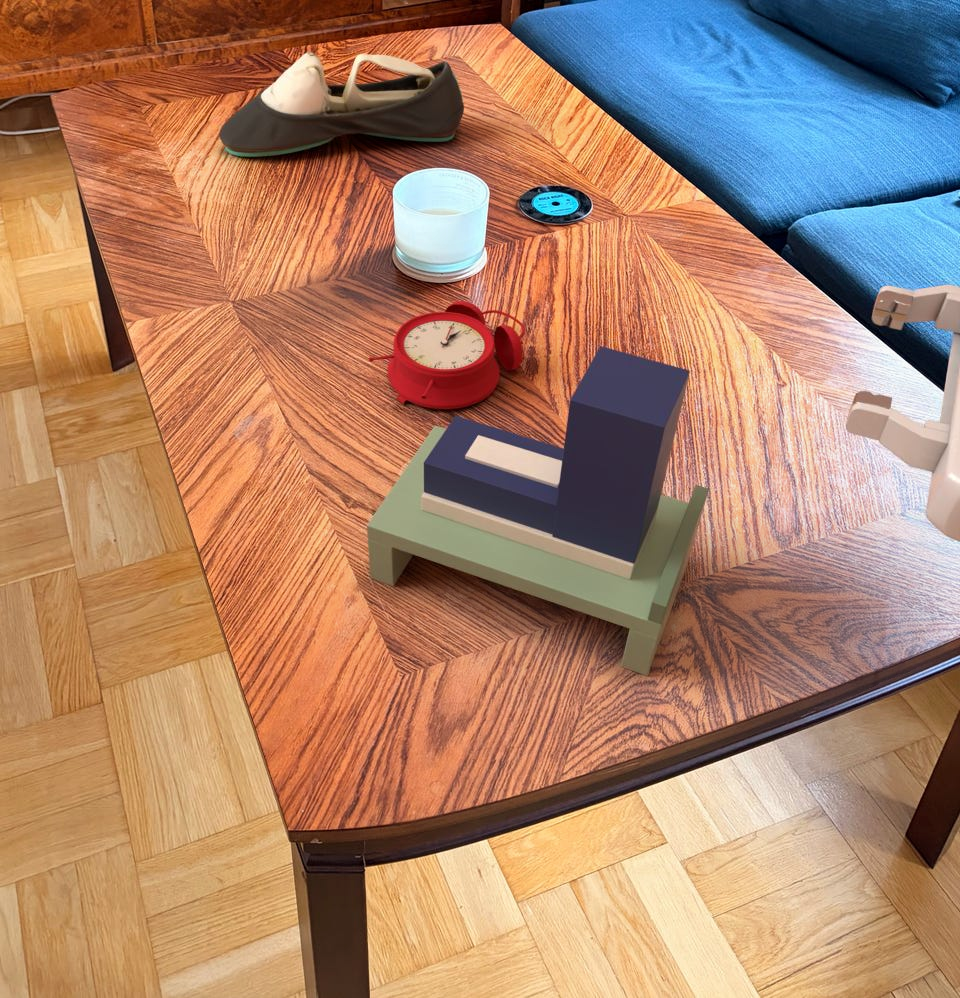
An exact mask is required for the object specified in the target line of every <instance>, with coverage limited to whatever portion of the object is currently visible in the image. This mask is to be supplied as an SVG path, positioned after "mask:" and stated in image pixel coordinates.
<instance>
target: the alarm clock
mask: <svg viewBox="0 0 960 998" xmlns="http://www.w3.org/2000/svg"><path fill="white" fill-rule="evenodd" d="M486 314H499V315H502V316H505V317H507V318H509V319H511V320H513V321H514V322H515V323H517V324H518V325H519V326H520V327H521V330H522V331H521V333H520V334H518V332H517V331H516V330H515V329H514V328H513V327H512V326H510V325H508V324H501V325H498V326H496V327H495V329H494V332H493V331H491V330H490V329H489V328H488V327H487V325H486V319H485V316H484V315H486ZM493 333H494V334H493ZM525 333H526V327H525V325H524V324H523V323H522V322H521V321H520V320H519V319H518V318H516V317H514V316H513V315H511V314H509V313H506V312H504V311H502V310H497V309H493V310H492V309H490V310H484V311H482V310H481V308H479V306H476V305H475V304H473V302H469V301H465V300H458V301H454V302H452V303H450V304H449V305H448V306H447V307H446V309H445V311H436V312H435V311H434V312H427V313H423V314H420V315H417V316H414V317H412V318H410V319H408V320H407V321H405V322H404V323H403V324H402V325H400V327H399V328H398V330H397V331H396V333H395V336H394V339H393V343H392V345H393V346H392V348H393V354H389V355H387V354H386V355H382V356H377V357H372V356H368V361H369V362H370V363H371V362H373V361H379V360H389V362H388V365H387V378H388V381H389V384H390V386H391V387H392V389H393V390H394V391H395V392H396V394H398V395H397V396H396V401H397V402H399V403H400V404H402V405H405V402H406V401H408V402H410V403H412V404H415V405H418V406H420V407H425V408H428V409H435V410H455V409H463V408H467V407H469V406H472V405H475V404H478V403H479V402H482V401H484V400H485V399H486V398H487V397H489V396H490V395H491V394H492V393H493V392H494V391H495V390H496V388H497V386H498V384H499V381H500V373H501V371H500V370H501V369H500V365H501V366H502V367H503V369H505V370H506V371H514V370H517V368H518V367H519V366H520V365H521V364H522V360H523V353H524V352H523V345H524V341H522V340H521V339H522V337H524V335H525ZM495 354H496V357H497V359H498V361H497V359H496V357H495ZM499 363H500V364H499Z"/></svg>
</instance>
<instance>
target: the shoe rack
mask: <svg viewBox="0 0 960 998" xmlns="http://www.w3.org/2000/svg"><path fill="white" fill-rule="evenodd" d="M446 429H447V428H445V427H442V426H439V425H434V426H433V428H432V429H431V431H430V432H429V434H428V435H427V436H426V438H425V439H424V441H423V442H422V444H421V445H420V447H419V448H418V449H417V451H416V452H415V454H414V456H413V457H412V458H411V460H410V461H409V462H408V464H407V466H406V467H405V469H404V470H403V472H402V473H401V474H400V476H399V477H398V478H397V481H396V482H395V483H394V485H393V486H392V488H391V489H390V491H389V492H388V494H387V495H386V496H385V497H384V499H383V501H382V502H381V504H380V505H379V507H378V508H377V510H376V511H375V512H374V514H373V516H372V517H371V518H370V519H369V521H368V523H367V524H366V535H367V549H368V564H369V575H370V576H369V577H370V579H372V580H374V581H376V582H380V583H383V584H386V585H388V586H391V587H394V586H395V585H396V583H397V582H398V580H399V578H400V577H401V575H402V573H403V572H404V570H405V569H406V567H407V565H408V564H409V562H410V560H411V559H412V557H413V556H417V557H419V558H423V559H425V560H429V561H431V562H434V563H437V564H439V565H443V566H446V567H448V568H451V569H455V570H456V571H460V572H463V573H466V574H469V575H472V576H475V577H477V578H481V579H483V580H487V581H489V582H492V583H496V584H498V585H501V586H504V587H507V588H510V589H512V590H515V591H519V592H522V593H523V594H527V595H530V596H533V597H536V598H538V599H542V600H545V601H548V602H551V603H554V604H556V605H560V606H562V607H565V608H569V609H571V610H574V611H577V612H580V613H583V614H585V615H588V616H591V617H594V618H597V619H600V620H604V621H606V622H609V623H612V624H615V625H618V626H620V627H624V628H625V629H626V628H627V629H629V631H628V635H627V638H626V642H625V643H626V644H625V647H624V651H623V655H622V660H621V664H620V666H621V668H624V669H626V670H629V671H631V672H635V673H638V674H640V675H643V676H646V677H647V676H649V673H650V671H651V668H652V665H653V663H654V659H655V657H656V654H657V652H658V648H659V645H660V643H661V641H662V637H663V634H664V631H665V629H666V626H667V623H668V620H669V617H670V614H671V611H672V609H673V606H674V603H675V600H676V597H677V595H678V592H679V590H680V586H681V584H682V580H683V579H684V575H685V572H686V569H687V568H688V564H689V561H690V558H691V554H692V550H693V548H694V543H695V540H696V537H697V533H698V529H699V526H700V523H701V519H702V515H703V512H704V510H705V509H704V508H705V505H706V501H707V497H708V494H709V491H710V489H709V488H708V487H706V486H705V487H704V486H702V485H698V484H696V485H695V486H694V488H693V491H692V493H691V497H690V499H689V501H688V502H687V501H684V500H680V499H677V498H674V497H671V496H667V495H664V494H661V496H660V500H659V505H658V510H657V514H656V519H655V521H654V524H653V526H652V529H651V531H650V533H649V536H648V538H647V541H646V543H645V546H644V548H643V550H642V553H641V555H640V558H639V560H638V563H637V565H636V567H635V570H634V572H633V575H632V577H631V579H630V580H629V579H626V578H623V577H620V576H617V575H614V574H611V573H608V572H605V571H602V570H599V569H597V568H594V567H591V566H588V565H585V564H582V563H579V562H576V561H573V560H570V559H567V558H564V557H561V556H558V555H555V554H552V553H549V552H546V551H543V550H540V549H537V548H534V547H531V546H528V545H525V544H522V543H519V542H516V541H513V540H510V539H507V538H504V537H501V536H498V535H495V534H492V533H489V532H486V531H483V530H480V529H477V528H474V527H471V526H468V525H465V524H462V523H459V522H456V521H453V520H450V519H447V518H444V517H441V516H438V515H435V514H432V513H429V512H426V511H423V510H422V495H423V493H424V461H425V460H426V458H427V457H428V455H429V454H430V452H431V451H432V449H433V448H434V447H435V445H436V444H437V442H438V441H439V439H440V438H441V436H442V435H443V433H444V432H445V430H446Z"/></svg>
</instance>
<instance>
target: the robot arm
mask: <svg viewBox="0 0 960 998" xmlns="http://www.w3.org/2000/svg"><path fill="white" fill-rule="evenodd" d="M871 321H872V323H873V324H875V325H877V326H881V327H883V326H886V327H888V328H889V329H894V330H898V331H902V329H903V326H904V324H905V323H923V322H925V323H927V322H928V323H929V322H934V325H933V327H934V328H935V329H939V330H942V331H947V332H951V333H952V339H951V344H950V350H949V351H950V352H949V357H948V364H947V372H946V378H945V384H944V390H943V398H942V404H941V410H940V416H939V421H936V420H933V419H926V420H925V422H924V424H923V425H922V424H920V423H918V422H917V421H915V420H913V419H911V418H910V417H908V416H907V415H905V414H903V413H901V412H900V411H898V410H896V409H895V408H893V407H892V402H893V397H891V396H888V395H883V394H879V393H878V394H874V393H872V392H871V391H867V390H861V391H860V390H859V391H858V392H856V393H855V395H854V397H853V398H852V399H853V400H852V402H851V405H850V407H849V411H848V415H847V418H846V422H845V430H846V431H847V432H848V433H850V434H852V435H855V436H859V437H863V438H867V439H872V440H875V441H878V443H879V444H880V445H881V446H882V447H884V448H885V449H886V450H888V451H889V452H891V454H893V455H894V456H896V457H897V458H898V459H900V460H901V461H902V462H903V463H905V464H906V465H907V466H908V467H912V468H915V469H919V470H922V471H927V472H929V473H930V472H931V476H930V483H929V487H928V488H929V490H928V495H927V500H926V508H925V517H926V519H927V520H928V521H929V522H930V524H932V525H933V527H935V528H936V529H937V530H938V531H939V532H940V533H942V534H943V536H946V537H947V538H949V539H952V540H955V541H956V542H959V543H960V286H957V285H954V284H942V285H936V286H929V287H924V288H923V287H922V288H918V289H914V290H912V289H908V288H904V287H898V286H893V285H883V286H881V287H880V289H879V291H878V294H877V296H876V299H875V303H874V305H873V310H872V315H871Z"/></svg>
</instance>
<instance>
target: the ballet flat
mask: <svg viewBox="0 0 960 998" xmlns="http://www.w3.org/2000/svg"><path fill="white" fill-rule="evenodd" d="M364 62H367V63H371V64H374V65H376V66H378V67H381V68H384V69H386V70H389V71H392V72H397V73H400V74H405V75H406V76H402V77H398V78H393V79H389V80H381V81H375V82H374V81H373V82H367V83H357V82H356V81H357V75H358V72H359V68H360V66H361V65H362V63H364ZM464 111H465V103H464V99H463V95H462V91H461V88H460V85H459V82H458V80H457V77H456V75H455V73H454V71H453V70H452V67H451V65H450V64H449V63H448V62H447V61H440V62H438V63H436V64H434V65H432V66H431V65H430V66H429V67H426V68H425V67H423V66H420V65H418V64H416V63H414V62H412V61H409V60H407V59H403V58H400V57H396V56H393V55H387V54H368V53H360V54H358V55H357V56H356V57H355V59H354V61H353V64H352V67H351V70H350V73H349V76H348V79H347V81H346V83H345V84H327V82H326V77H325V71H324V66H323V62H322V61H321V59H320V58H319V56H317V54H315V53H313V52H312V51H308V52H306V53H304V54H302V55H301V56H300V57H299V58H298V59H297V60H296V61H295V62H294V63H293V64H292V65H291V66H290V67H288V68H287V69H286V70H284V72H283V73H282V74H281V75H280V76H279V77H278V78H277V79H276V81H275V82H273V83H272V84H271V85H269V86H266V87H264V88H263V89H262V90H260V91H259V92H258V93H257V94H256V96H254V97H253V98H252V99H250V100H249V101H248V102H247V103H245V104H244V105H243V106H241V107H240V108H238V110H237V111H236V112H234V113H233V114H232V115H231V116H230V117H229V118H228V120H227V121H226V122H224V124H223V125H222V127H221V128H220V130H219V133H218V135H219V136H218V138H219V140H220V141H221V143H222V144H223V146H224V148H225V150H226V152H227V153H229V154H230V155H233V156H236V157H245V158H246V157H247V158H248V157H249V158H252V157H253V158H255V157H256V158H257V157H271V156H272V157H273V156H281V155H285V154H292V153H296V152H300V151H305V150H308V149H312V148H315V147H318V146H321V145H325V144H327V143H329V142H331V141H333V139H335V138H337V137H340V136H342V135H354V134H363V135H368V136H373V137H380V138H389V139H397V140H404V141H413V142H425V143H442V142H449V141H451V140H452V139H453V138H454V137H455V133H456V130H457V129H458V128H459V126H460V124H461V121H462V119H463V116H464Z"/></svg>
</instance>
